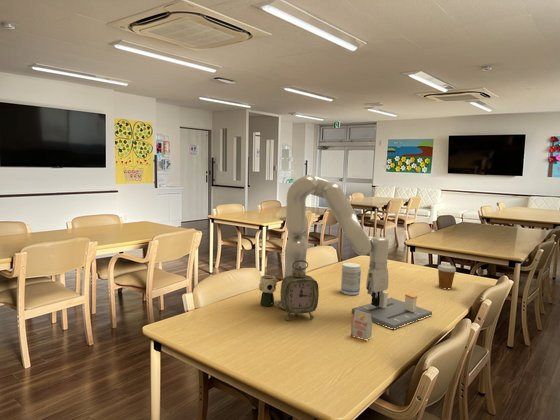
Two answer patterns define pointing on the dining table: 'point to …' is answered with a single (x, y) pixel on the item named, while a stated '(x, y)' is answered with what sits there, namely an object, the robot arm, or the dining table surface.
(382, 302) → the fader cream
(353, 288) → the supplement tub
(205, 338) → the dining table surface
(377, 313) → the panel
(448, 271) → the disposable coffee cup
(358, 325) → the tea bag
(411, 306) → the fader orange
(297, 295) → the tabletop clock
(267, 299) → the character mug
